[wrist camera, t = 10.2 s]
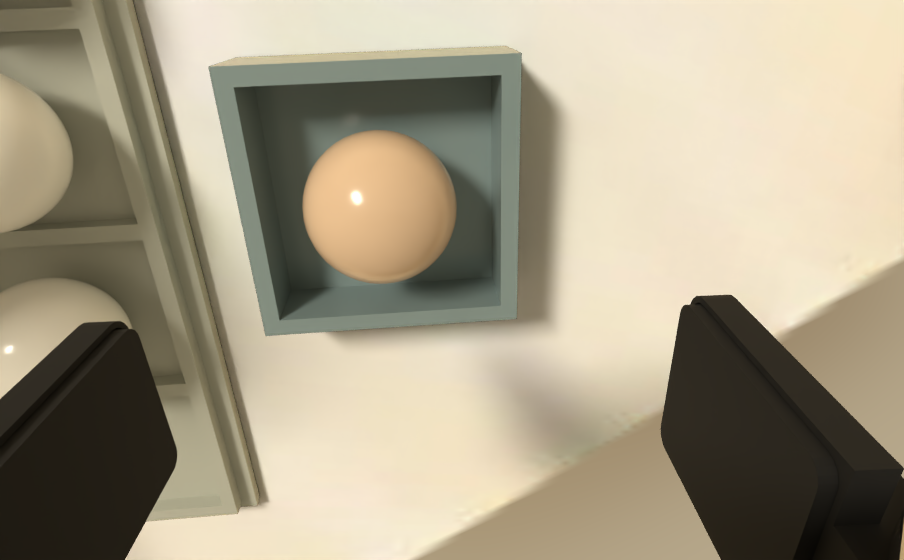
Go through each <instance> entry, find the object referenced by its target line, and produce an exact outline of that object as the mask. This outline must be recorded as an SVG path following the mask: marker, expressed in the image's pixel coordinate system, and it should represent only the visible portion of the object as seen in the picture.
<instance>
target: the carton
mask: <svg viewBox="0 0 904 560" xmlns="http://www.w3.org/2000/svg"><path fill="white" fill-rule="evenodd" d="M0 73H1V74H4V75H6V76H9V77H11V78H13V79H15V80H16V81H18V82H20V83H22V84H23V85H25V86H26V87H28V88H29V89H31V90H32V91H34V92H35V93H36V94H37V95H39V96H40V97H41V98H42V99H43V100H44V101H45V102H46V103H47V104H48V105H49V106H50V107H51V108H52V109H53V110H54V112H55V113H56V114H57V116H58V117H59V118H60V120H61V121H62V123H63V125H64V127H65V129H66V131H67V133H68V136H69V138H70V142H71V145H72V151H73V172H72V177H71V180H70V183H69V186H68V188H67V190H66V192H65V194H64V196H63V197H62V199H61V200H60V201H59V202H58V203H57V205H56V206H55V207H54V208H53V209H52V210H51V211H50V212H48V213H47V214H46V215H45V216H43V217H42V218H40V219H39V220H37V221H35V222H34V223H31V224H29V225H27V226H25V227H22V228H20V229H17V230H13V231H9V232H5V233H0V292H2V291H4V290H5V289H7V288H9V287H12V286H14V285H17V284H19V283H22V282H26V281H30V280H34V279H41V278H68V279H73V280H78V281H82V282H85V283H88V284H91V285H93V286H95V287H97V288H99V289H101V290H103V291H104V292H106V293H107V294H109V295H110V296H111V297H112V298H114V299H115V300H116V301H117V302H118V303H119V304H120V306H121V307H122V308H123V310H124V311H125V313H126V314H127V316H128V318H129V320H130V322H131V325H132V328H133V330H135V331H136V332H137V333H138V335H139V337H140V340H141V343H142V346H143V349H144V352H145V355H146V358H147V361H148V364H149V367H150V370H151V373H152V376H153V379H154V382H155V385H156V388H157V391H158V394H159V397H160V400H161V403H162V406H163V409H164V412H165V415H166V418H167V421H168V424H169V427H170V430H171V433H172V436H173V438H174V441H175V444H176V448H177V462H176V466H175V469H174V471H173V473H172V475H171V476H170V478H169V480H168V482H167V484H166V486H165V487H164V489H163V491H162V493H161V495H160V496H159V498H158V500H157V502H156V504H155V506H154V507H153V509H152V511H151V513H150V515H149V517H148V518H147V520H146V521H157V520H169V519H181V518H194V517H206V516H218V515H230V514H238V512H239V509H240V507H243V506H255V505H258V502H259V498H260V496H259V492H258V488H257V484H256V480H255V476H254V472H253V469H252V465H251V461H250V457H249V453H248V449H247V445H246V441H245V437H244V433H243V430H242V426H241V422H240V418H239V414H238V410H237V406H236V402H235V398H234V394H233V390H232V387H231V383H230V379H229V375H228V371H227V367H226V363H225V359H224V355H223V351H222V347H221V344H220V340H219V336H218V332H217V328H216V324H215V320H214V316H213V312H212V308H211V304H210V301H209V297H208V293H207V289H206V285H205V281H204V277H203V273H202V269H201V265H200V262H199V258H198V254H197V250H196V246H195V242H194V238H193V234H192V230H191V226H190V222H189V219H188V215H187V211H186V207H185V203H184V199H183V195H182V191H181V187H180V183H179V179H178V176H177V172H176V168H175V164H174V160H173V156H172V152H171V148H170V144H169V140H168V136H167V133H166V129H165V125H164V121H163V117H162V113H161V109H160V105H159V101H158V97H157V93H156V90H155V86H154V82H153V78H152V74H151V70H150V66H149V62H148V58H147V54H146V51H145V47H144V43H143V39H142V35H141V31H140V27H139V23H138V19H137V15H136V11H135V8H134V4H133V0H0Z"/></svg>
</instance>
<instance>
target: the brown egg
mask: <svg viewBox="0 0 904 560" xmlns="http://www.w3.org/2000/svg"><path fill="white" fill-rule="evenodd" d="M302 207H303V218H304V223H305V227H306V230H307V233H308V236H309V238H310V240H311V242H312V243H313V245H314V247H315V249H316V250H317V251H318V253H319V254H320V256H321V257H322V258H323V259H324V260H325V261H326V262H327V263H328V264H329V265H331V266H332V267H333V268H334V269H336V270H337V271H339V272H340V273H342V274H344V275H346V276H348V277H350V278H353V279H355V280H358V281H362V282H366V283H373V284H388V283H395V282H400V281H404V280H406V279H409V278H412V277H414V276H416V275H418V274H420V273H421V272H423V271H424V270H426V269H427V268H428V267H429V266H430V265H432V264H433V263H434V262H435V261H436V260H437V259H438V257H439V256H440V255H441V254H442V253H443V251H444V249H445V248H446V246H447V244H448V242H449V240H450V238H451V236H452V233H453V230H454V227H455V221H456V211H457V203H456V194H455V190H454V186H453V183H452V181H451V178H450V176H449V173H448V172H447V170H446V168H445V166H444V165H443V163H442V162H441V161H440V159H439V158H438V157H437V156H436V155H435V154H434V153H433V152H432V151H431V150H430V149H429V148H428V147H426V146H425V145H424V144H423V143H421V142H419V141H418V140H416V139H414V138H412V137H410V136H407V135H405V134H402V133H398V132H395V131H388V130H369V131H362V132H358V133H354V134H352V135H349V136H347V137H344V138H343V139H341V140H339V141H338V142H336V143H335V144H333V145H332V146H331V147H329V148H328V149H327V150H326V151H325V152H324V153H323V154H322V155H321V156H320V157H319V159H318V160H317V162H316V163H315V164H314V166H313V168H312V170H311V172H310V174H309V176H308V179H307V182H306V185H305V188H304V193H303V205H302Z"/></svg>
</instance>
